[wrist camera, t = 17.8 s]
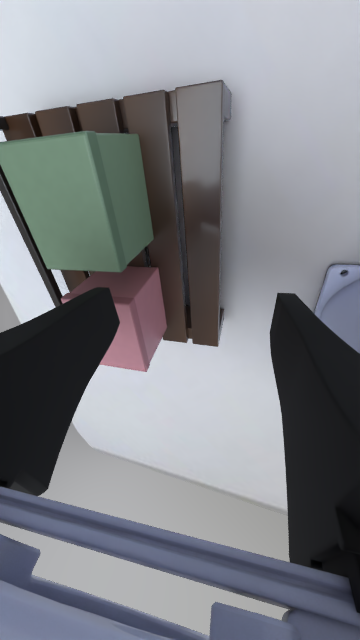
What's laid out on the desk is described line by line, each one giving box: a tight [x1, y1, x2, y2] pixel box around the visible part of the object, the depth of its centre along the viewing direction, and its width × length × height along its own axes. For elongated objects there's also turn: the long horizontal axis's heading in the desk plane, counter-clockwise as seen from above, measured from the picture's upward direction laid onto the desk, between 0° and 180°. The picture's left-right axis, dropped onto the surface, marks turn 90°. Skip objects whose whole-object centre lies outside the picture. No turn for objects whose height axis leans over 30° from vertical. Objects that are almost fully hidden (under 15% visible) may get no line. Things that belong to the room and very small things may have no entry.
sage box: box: [0, 131, 154, 272], centre depth 13 cm, size 5×6×5 cm
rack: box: [0, 80, 231, 347], centre depth 18 cm, size 13×16×6 cm
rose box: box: [61, 266, 167, 372], centre depth 17 cm, size 5×6×5 cm
